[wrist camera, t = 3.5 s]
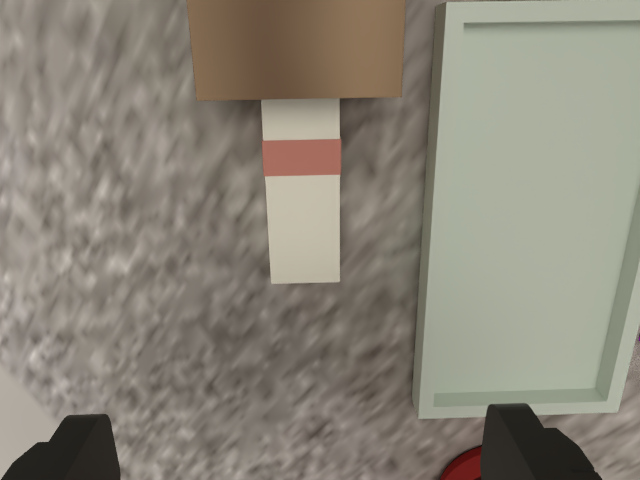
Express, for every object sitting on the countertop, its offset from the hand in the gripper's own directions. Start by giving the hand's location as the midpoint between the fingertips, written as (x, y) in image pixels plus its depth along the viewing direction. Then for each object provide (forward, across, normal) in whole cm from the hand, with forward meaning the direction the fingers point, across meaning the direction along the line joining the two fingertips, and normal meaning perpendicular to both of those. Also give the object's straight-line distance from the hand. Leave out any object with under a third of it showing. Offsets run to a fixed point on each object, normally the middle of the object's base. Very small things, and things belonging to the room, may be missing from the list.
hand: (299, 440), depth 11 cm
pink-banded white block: (+16, 0, -5) cm, 17 cm away
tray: (+16, -12, +1) cm, 20 cm away
